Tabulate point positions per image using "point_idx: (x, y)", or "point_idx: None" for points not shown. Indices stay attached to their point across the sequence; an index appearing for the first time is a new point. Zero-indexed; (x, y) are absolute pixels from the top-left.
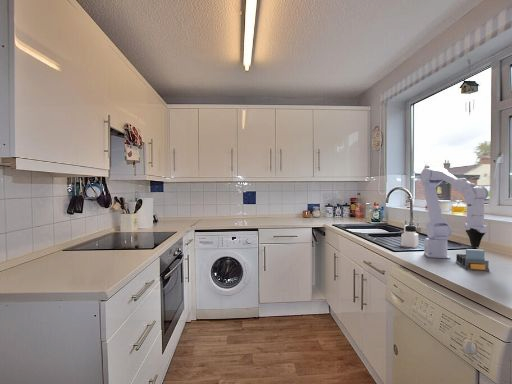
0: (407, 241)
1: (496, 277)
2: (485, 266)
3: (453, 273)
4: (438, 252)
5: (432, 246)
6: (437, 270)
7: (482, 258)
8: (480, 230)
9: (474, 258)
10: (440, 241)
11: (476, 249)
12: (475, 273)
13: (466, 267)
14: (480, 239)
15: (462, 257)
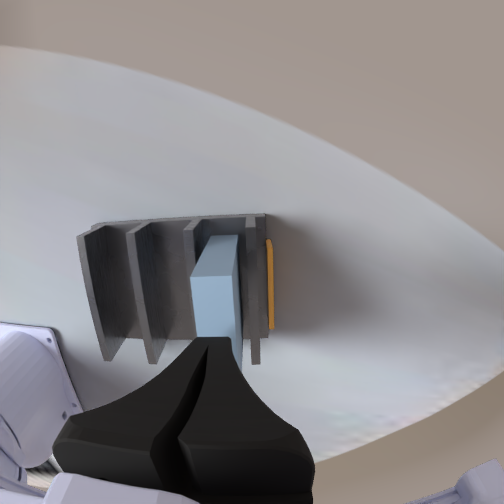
0: None
1: (392, 230)
2: (256, 236)
3: (353, 395)
4: (52, 393)
5: (45, 433)
6: (315, 436)
7: (236, 264)
8: None
9: (239, 315)
10: (19, 428)
11: (200, 328)
12: (338, 308)
13: (267, 335)
14: (248, 390)
15: None
